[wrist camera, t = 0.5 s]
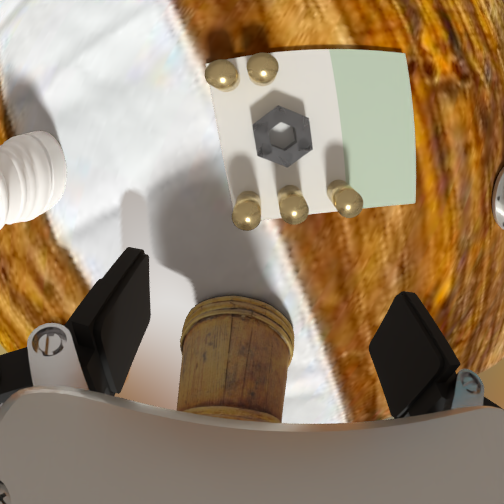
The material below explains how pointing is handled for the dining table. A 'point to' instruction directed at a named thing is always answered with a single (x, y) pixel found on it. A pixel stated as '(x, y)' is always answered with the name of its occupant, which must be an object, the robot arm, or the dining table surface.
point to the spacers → (290, 196)
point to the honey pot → (30, 176)
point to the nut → (291, 151)
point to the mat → (324, 128)
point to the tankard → (235, 360)
